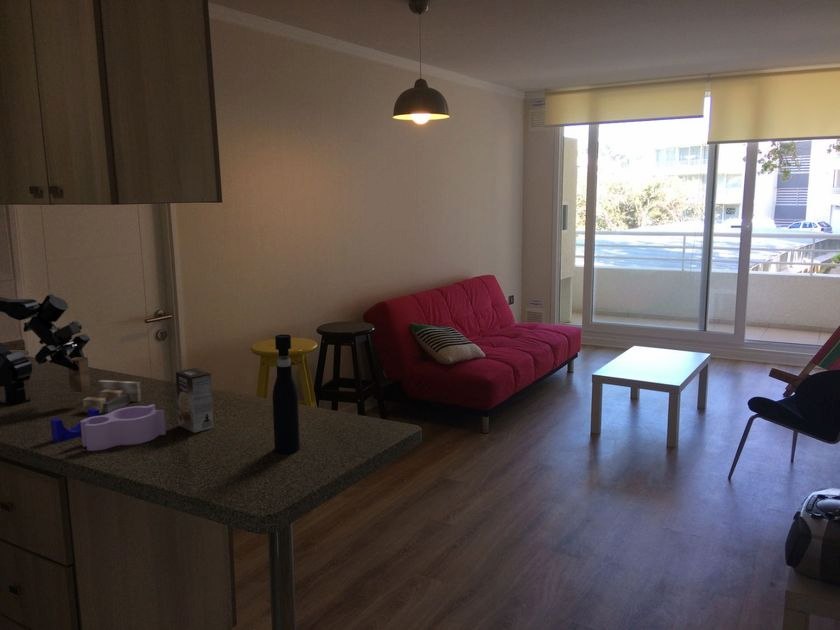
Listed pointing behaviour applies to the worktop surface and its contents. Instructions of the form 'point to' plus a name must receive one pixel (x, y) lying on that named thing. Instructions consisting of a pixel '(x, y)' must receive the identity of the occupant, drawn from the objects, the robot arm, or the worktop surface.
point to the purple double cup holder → (123, 427)
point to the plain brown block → (79, 375)
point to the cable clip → (63, 434)
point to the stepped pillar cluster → (113, 396)
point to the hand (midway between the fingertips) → (82, 368)
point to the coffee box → (194, 399)
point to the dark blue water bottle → (285, 401)
